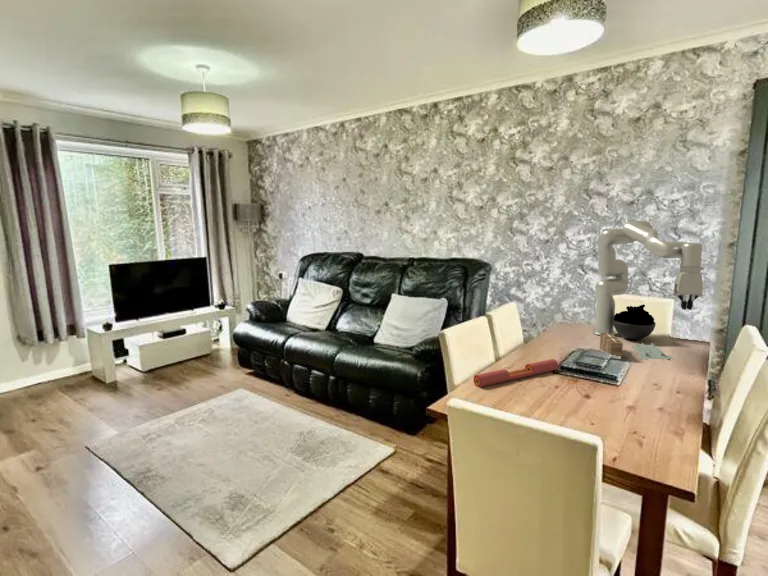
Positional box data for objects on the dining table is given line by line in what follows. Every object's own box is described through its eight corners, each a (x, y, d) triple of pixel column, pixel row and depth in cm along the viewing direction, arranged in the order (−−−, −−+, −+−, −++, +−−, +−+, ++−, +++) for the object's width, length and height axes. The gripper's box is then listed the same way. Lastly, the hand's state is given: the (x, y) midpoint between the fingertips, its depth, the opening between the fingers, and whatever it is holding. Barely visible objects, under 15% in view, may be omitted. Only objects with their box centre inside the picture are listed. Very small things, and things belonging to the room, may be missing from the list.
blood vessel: (480, 389, 166) (481, 377, 165) (473, 385, 170) (473, 373, 169) (558, 371, 183) (558, 360, 182) (549, 368, 188) (549, 357, 187)
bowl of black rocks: (623, 344, 219) (625, 309, 217) (605, 334, 239) (607, 302, 236) (662, 344, 219) (665, 308, 216) (640, 334, 238) (643, 301, 236)
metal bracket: (627, 341, 206) (657, 340, 206) (624, 351, 209) (655, 350, 208) (643, 358, 193) (676, 357, 193) (640, 368, 196) (673, 367, 195)
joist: (599, 348, 214) (600, 332, 213) (610, 348, 213) (611, 333, 212) (609, 359, 197) (611, 342, 196) (621, 359, 196) (622, 342, 194)
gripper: (705, 269, 193) (701, 308, 196) (667, 268, 197) (664, 307, 200) (713, 270, 186) (709, 311, 189) (674, 270, 190) (670, 310, 192)
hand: (686, 309), depth 194 cm, fingers closed
